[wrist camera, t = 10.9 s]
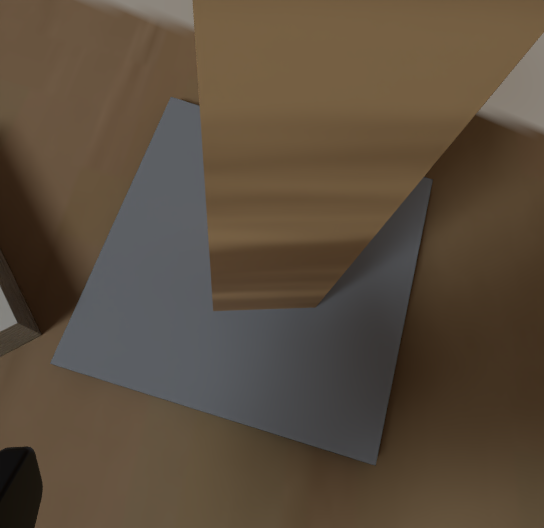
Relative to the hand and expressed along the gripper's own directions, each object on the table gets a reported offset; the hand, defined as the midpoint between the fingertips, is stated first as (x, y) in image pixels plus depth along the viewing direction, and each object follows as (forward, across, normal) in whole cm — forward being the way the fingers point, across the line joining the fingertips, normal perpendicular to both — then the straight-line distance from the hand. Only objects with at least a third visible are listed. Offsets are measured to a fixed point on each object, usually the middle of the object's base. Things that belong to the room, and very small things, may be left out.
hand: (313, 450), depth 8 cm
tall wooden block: (+10, 0, +1) cm, 10 cm away
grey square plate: (+10, 0, +1) cm, 10 cm away
